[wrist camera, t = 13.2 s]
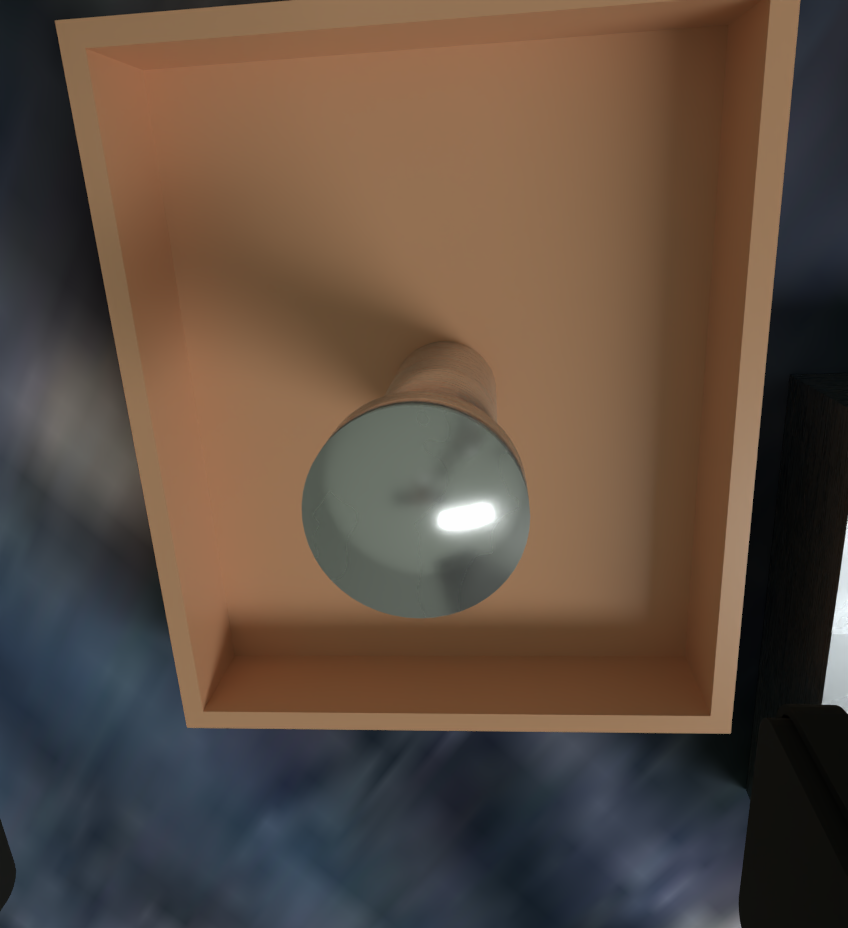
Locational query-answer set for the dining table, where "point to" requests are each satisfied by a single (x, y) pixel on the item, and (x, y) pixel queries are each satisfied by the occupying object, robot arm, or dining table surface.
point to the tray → (446, 332)
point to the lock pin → (420, 491)
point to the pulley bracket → (808, 558)
